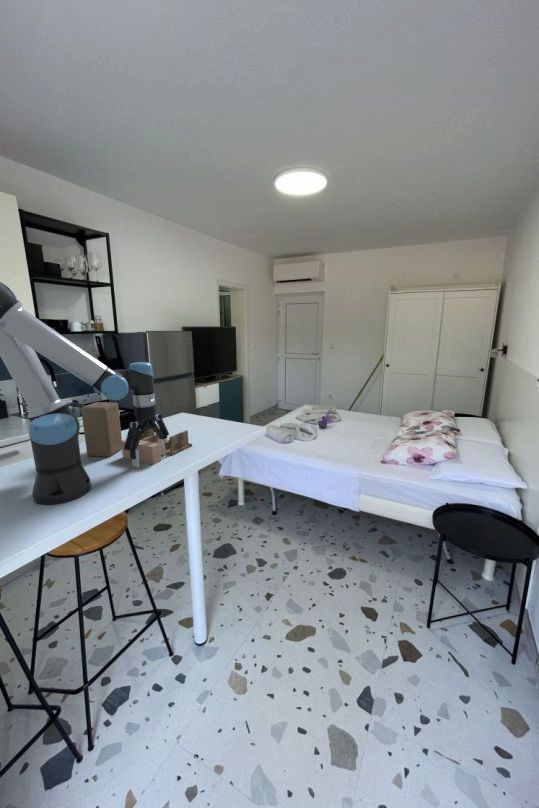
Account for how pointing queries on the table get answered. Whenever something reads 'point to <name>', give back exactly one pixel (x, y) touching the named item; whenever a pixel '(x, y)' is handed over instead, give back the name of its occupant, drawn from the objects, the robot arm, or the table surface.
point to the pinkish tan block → (145, 452)
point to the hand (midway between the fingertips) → (149, 460)
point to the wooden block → (102, 428)
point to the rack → (169, 441)
